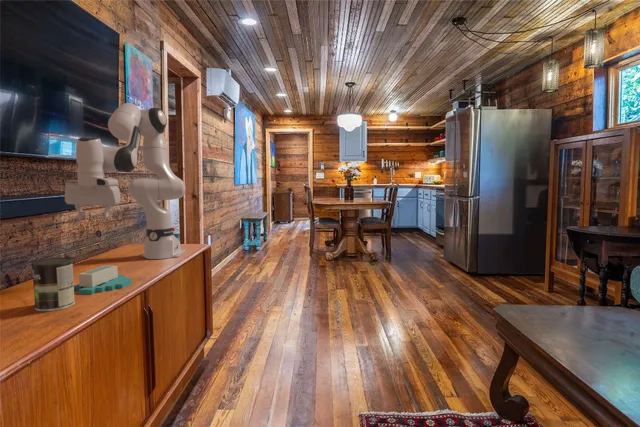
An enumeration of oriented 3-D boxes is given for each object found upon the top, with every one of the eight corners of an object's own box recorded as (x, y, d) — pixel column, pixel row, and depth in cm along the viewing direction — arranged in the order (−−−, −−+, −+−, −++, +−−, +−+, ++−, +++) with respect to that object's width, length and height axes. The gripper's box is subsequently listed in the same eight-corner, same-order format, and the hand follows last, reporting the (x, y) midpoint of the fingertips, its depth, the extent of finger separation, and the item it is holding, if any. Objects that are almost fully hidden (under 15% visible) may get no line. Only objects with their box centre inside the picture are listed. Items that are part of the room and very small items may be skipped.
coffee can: (38, 314, 110) (34, 266, 109) (32, 306, 117) (28, 260, 116) (79, 306, 117) (76, 260, 116) (71, 298, 125) (68, 255, 123)
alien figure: (53, 295, 130) (111, 296, 129) (52, 289, 129) (111, 289, 129) (89, 280, 150) (140, 280, 149) (89, 274, 149) (140, 274, 149)
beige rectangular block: (92, 287, 132) (91, 273, 132) (79, 286, 133) (78, 273, 133) (117, 277, 145) (117, 265, 145) (106, 276, 146) (105, 264, 145)
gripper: (59, 180, 142) (61, 216, 144) (111, 181, 141) (113, 218, 143) (71, 179, 148) (73, 214, 150) (121, 180, 147) (123, 216, 149)
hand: (93, 216), depth 146 cm, fingers open, 8 cm apart
